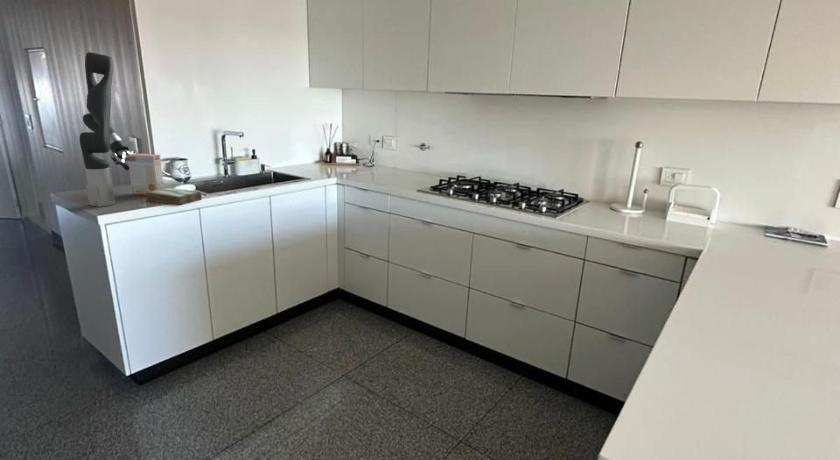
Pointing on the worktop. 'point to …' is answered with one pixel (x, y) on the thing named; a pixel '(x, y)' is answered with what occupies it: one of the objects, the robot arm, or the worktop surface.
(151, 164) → the cracker box
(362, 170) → the worktop surface
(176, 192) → the podium
